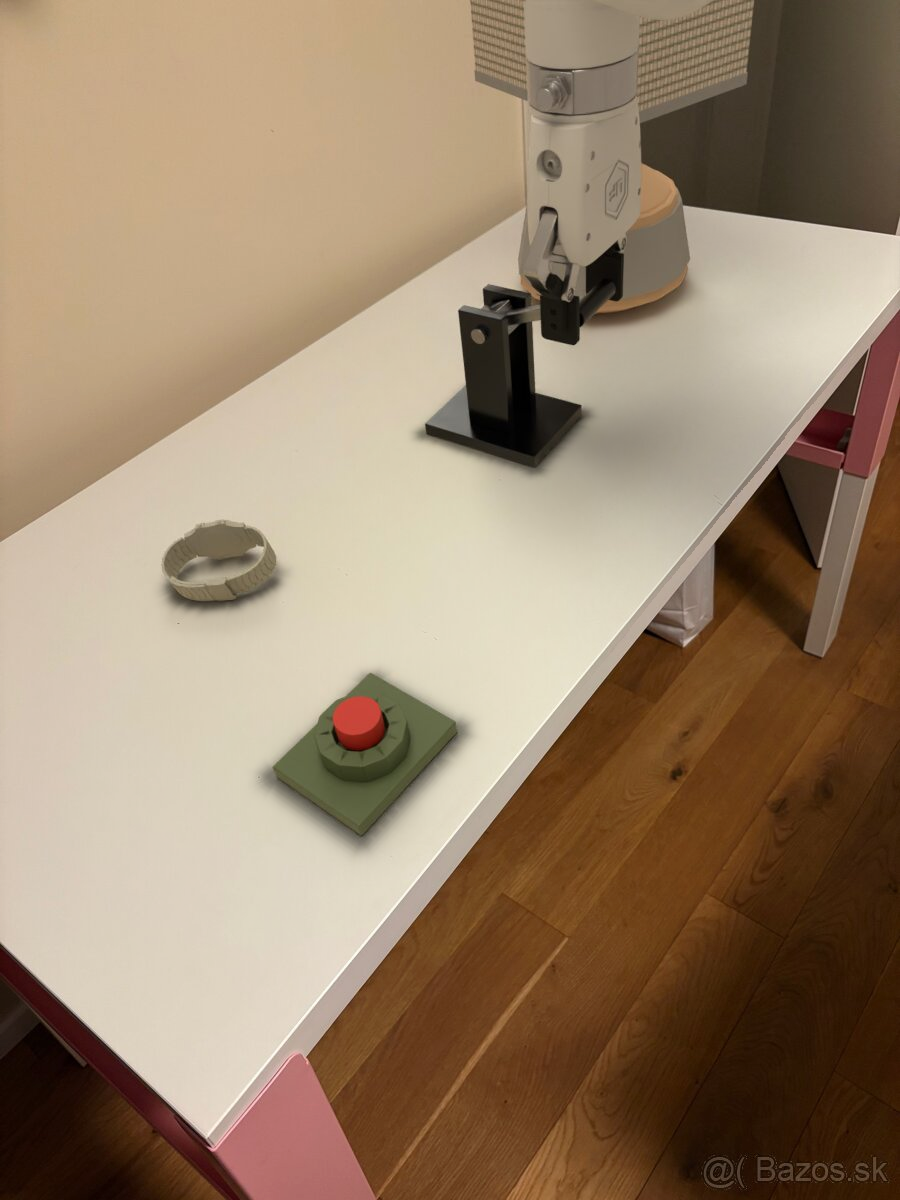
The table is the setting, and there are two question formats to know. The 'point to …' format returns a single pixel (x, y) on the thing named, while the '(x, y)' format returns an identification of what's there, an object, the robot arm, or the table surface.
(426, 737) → the button box
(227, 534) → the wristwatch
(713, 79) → the desk lamp
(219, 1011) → the table surface
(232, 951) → the table surface
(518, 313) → the lever
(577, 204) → the robot arm
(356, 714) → the button
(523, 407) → the bracket
